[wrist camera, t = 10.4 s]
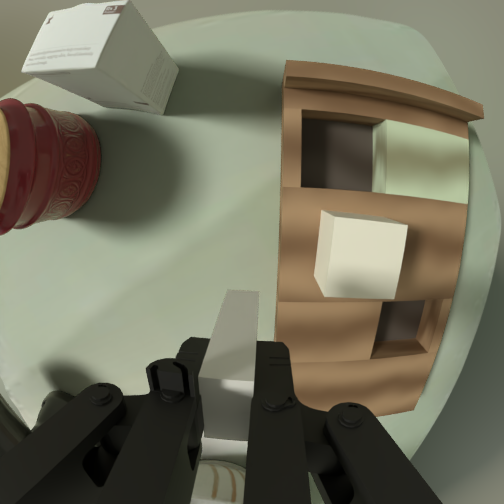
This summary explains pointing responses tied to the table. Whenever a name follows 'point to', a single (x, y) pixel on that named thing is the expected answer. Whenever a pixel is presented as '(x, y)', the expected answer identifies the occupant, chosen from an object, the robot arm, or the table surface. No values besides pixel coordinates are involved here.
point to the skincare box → (104, 57)
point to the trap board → (377, 204)
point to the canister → (44, 164)
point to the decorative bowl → (218, 483)
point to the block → (359, 255)
